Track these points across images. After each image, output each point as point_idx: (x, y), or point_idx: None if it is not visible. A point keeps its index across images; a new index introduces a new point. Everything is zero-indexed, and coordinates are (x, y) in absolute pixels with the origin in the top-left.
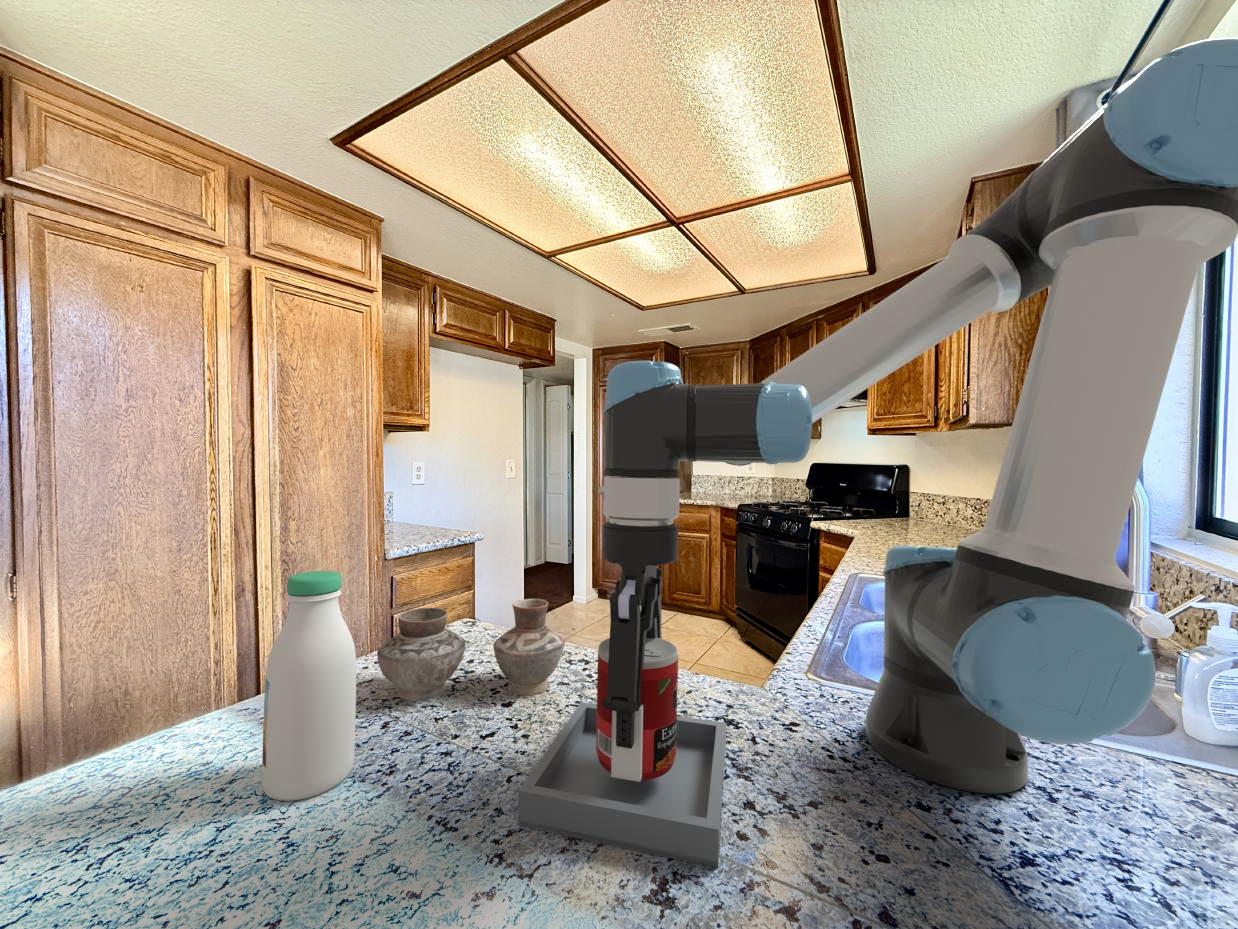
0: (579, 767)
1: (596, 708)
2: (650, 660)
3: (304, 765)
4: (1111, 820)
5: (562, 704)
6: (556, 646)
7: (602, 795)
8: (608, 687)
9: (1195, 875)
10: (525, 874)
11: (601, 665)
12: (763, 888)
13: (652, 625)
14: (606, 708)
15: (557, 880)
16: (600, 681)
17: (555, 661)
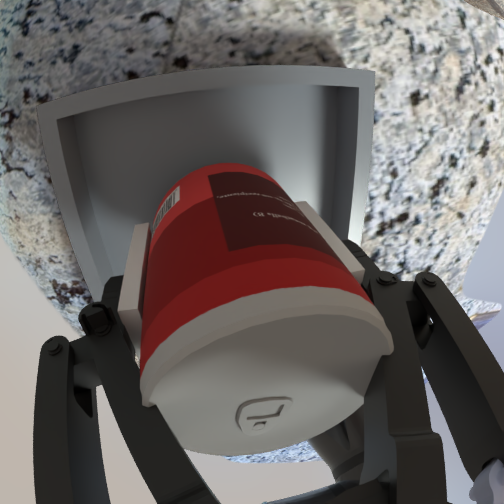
0: (210, 117)
1: (359, 109)
2: (199, 438)
3: None
4: (290, 448)
5: (408, 22)
6: (501, 7)
7: (155, 184)
8: (38, 384)
9: (256, 459)
10: (7, 163)
11: (164, 321)
12: None
13: (366, 436)
14: (44, 343)
15: (19, 199)
16: (167, 278)
17: (476, 5)
